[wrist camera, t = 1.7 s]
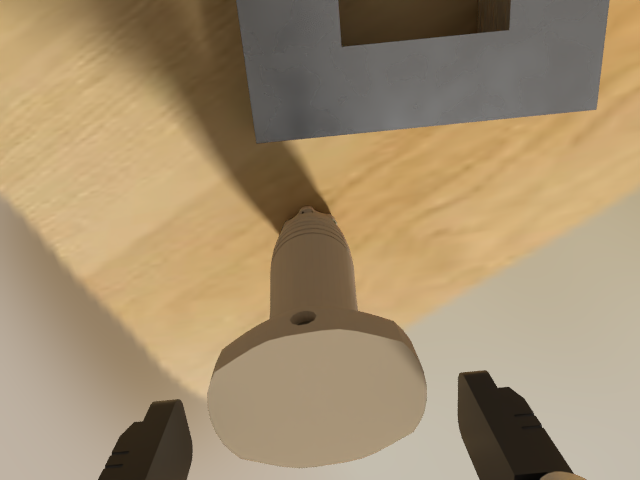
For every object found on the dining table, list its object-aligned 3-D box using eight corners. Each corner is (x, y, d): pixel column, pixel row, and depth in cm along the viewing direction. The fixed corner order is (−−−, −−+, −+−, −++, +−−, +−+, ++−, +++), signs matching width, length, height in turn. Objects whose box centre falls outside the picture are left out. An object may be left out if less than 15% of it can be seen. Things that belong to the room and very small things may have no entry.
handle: (368, 257, 28) (433, 448, 14) (266, 275, 28) (229, 480, 14) (358, 182, 27) (419, 314, 13) (248, 200, 27) (188, 352, 13)
